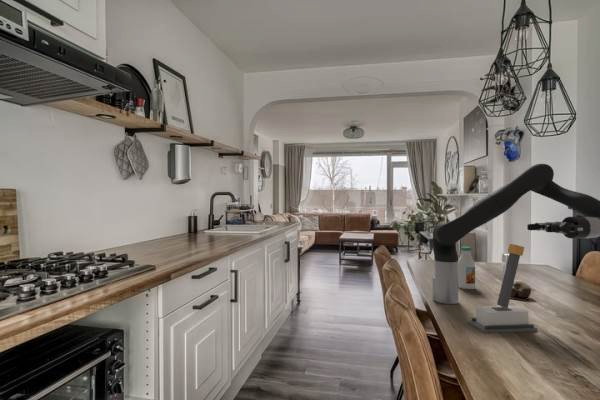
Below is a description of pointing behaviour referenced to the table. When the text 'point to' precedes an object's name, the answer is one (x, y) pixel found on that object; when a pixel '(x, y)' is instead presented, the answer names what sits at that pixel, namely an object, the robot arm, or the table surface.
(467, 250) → the milk bottle
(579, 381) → the table surface
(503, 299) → the lever
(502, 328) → the breaker base
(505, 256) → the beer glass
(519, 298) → the skull
